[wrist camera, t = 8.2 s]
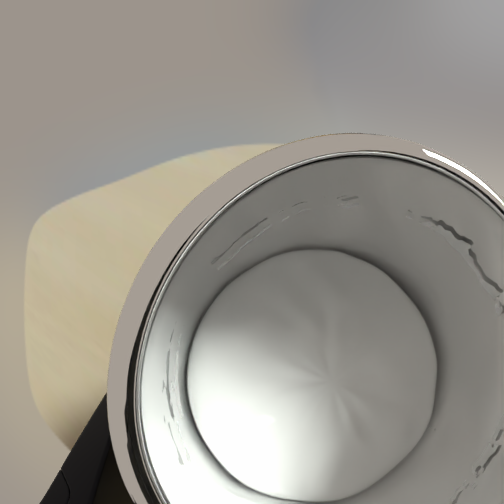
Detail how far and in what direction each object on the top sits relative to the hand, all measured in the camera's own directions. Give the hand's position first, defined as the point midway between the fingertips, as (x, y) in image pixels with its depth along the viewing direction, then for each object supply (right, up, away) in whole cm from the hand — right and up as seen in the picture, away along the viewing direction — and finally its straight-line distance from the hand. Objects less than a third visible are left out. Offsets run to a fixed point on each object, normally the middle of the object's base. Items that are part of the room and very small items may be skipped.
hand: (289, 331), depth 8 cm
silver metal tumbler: (0, -5, +9) cm, 10 cm away
